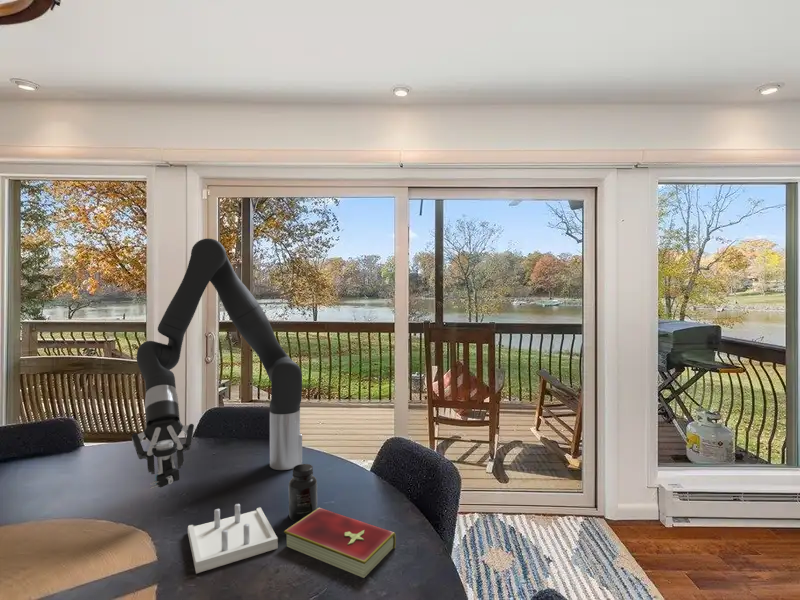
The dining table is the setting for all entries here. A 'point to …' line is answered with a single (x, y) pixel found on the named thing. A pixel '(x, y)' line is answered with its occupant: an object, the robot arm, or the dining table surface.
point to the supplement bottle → (302, 492)
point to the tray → (230, 539)
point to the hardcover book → (341, 541)
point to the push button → (165, 463)
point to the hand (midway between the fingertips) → (166, 469)
